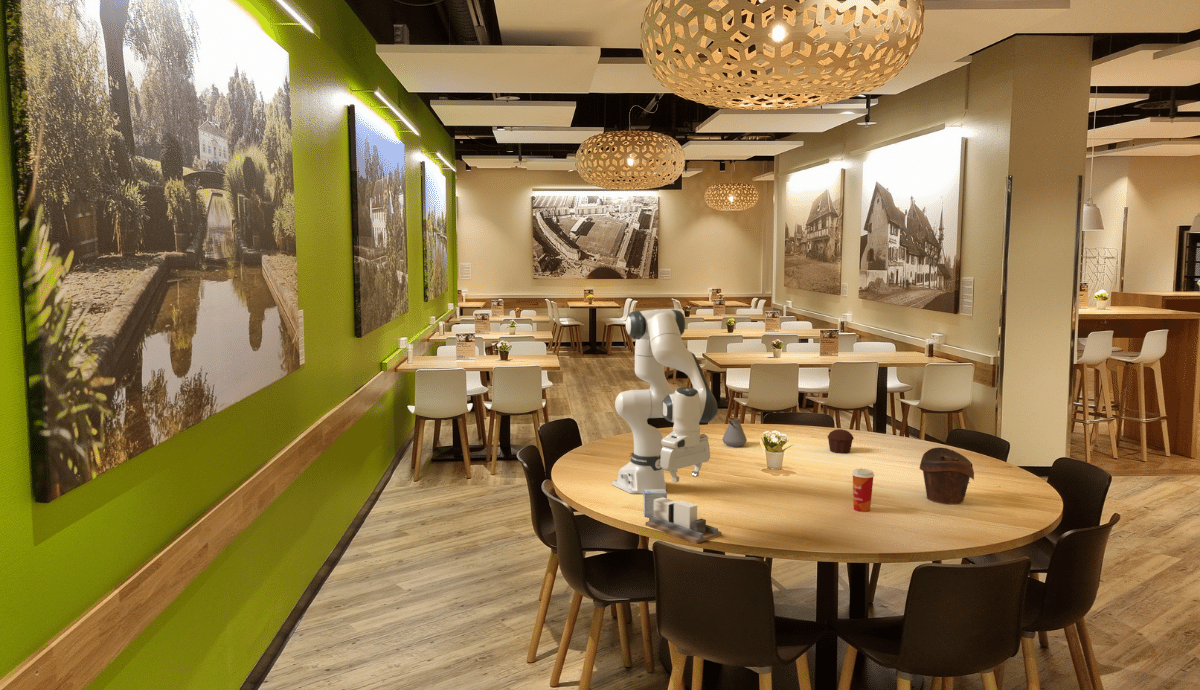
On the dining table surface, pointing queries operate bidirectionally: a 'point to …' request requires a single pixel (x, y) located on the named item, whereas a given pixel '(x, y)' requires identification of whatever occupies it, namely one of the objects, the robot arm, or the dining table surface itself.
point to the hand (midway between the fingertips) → (685, 479)
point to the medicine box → (651, 500)
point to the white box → (684, 513)
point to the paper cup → (862, 489)
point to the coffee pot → (734, 433)
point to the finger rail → (665, 523)
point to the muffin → (840, 441)
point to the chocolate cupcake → (946, 475)
